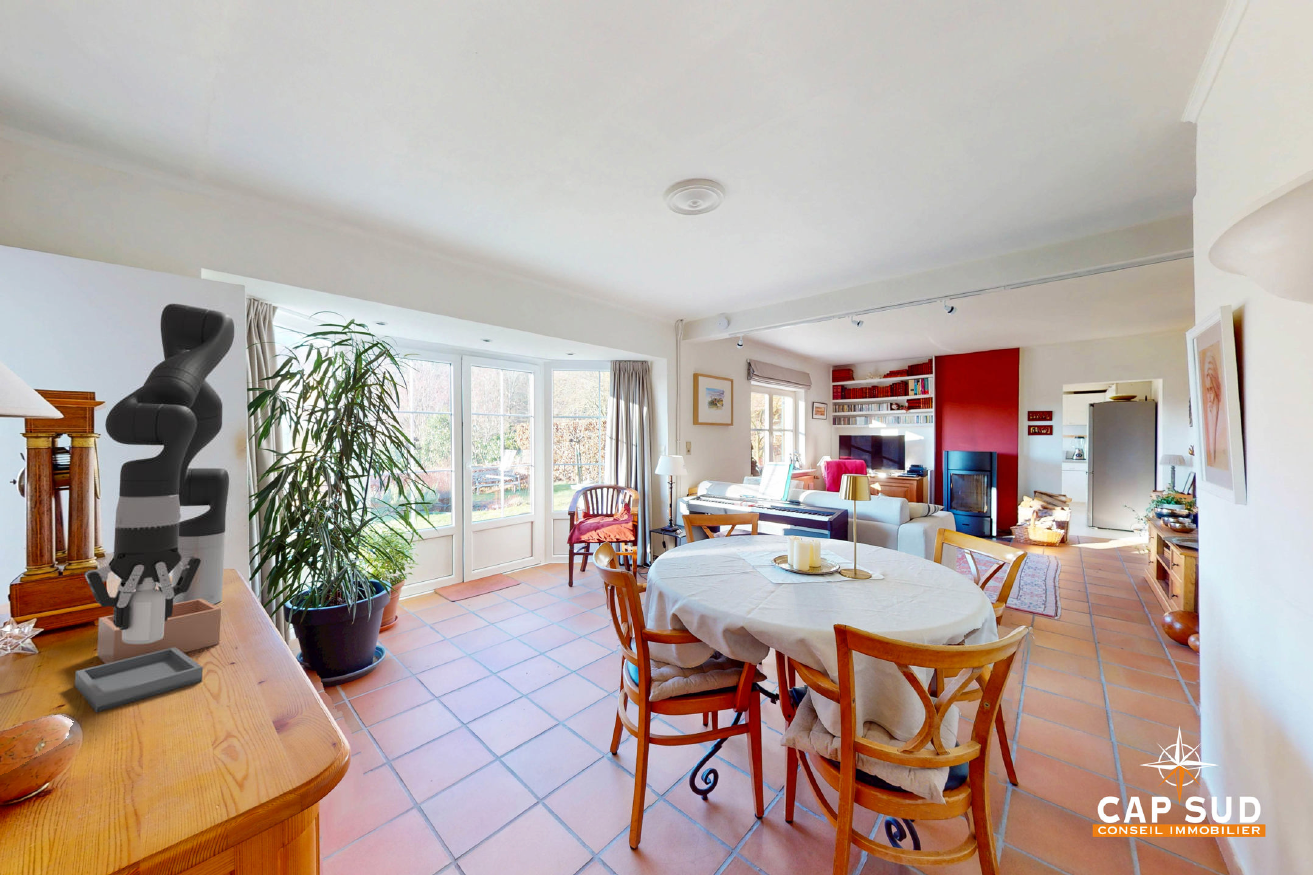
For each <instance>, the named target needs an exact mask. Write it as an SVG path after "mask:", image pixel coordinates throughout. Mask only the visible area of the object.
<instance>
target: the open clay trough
mask: <svg viewBox="0 0 1313 875" xmlns="http://www.w3.org/2000/svg"><path fill="white" fill-rule="evenodd" d="M221 614H222V608H220V607H218V606H217V605H216V604H211V603H209V602H207V601H205V600H204V599H196V600H191V601H186V602H180V603H175V604H173V613H172V615H171V617H168V619H167V621H164V636H163V638H162V639H161V640H158V641H155V642H152V643H148V644H128V643H125V642H123V641H122V630H120V629H119V627H118V628H117V627H116V626H115V625H114V624H113V616H114V614H112V615H108V616H107V615H106V616H102V617H98V628H97V629H98V632H97V648H96V649H97V651H96V652H97V653H96V656H97V657H98V658H99V659H100V660H101V661H102V662H103V664H107V663H111V662H115V661H120V660H124V659H128V658H132V657H136V656H140V655H144V654H148V653H152V652H157V651H161V650H165V649H169V648H173V647H176V648H177V649H178V650H180V651H181V652H183V653H184V654H185V653H188V652H191V651H195V650H196V651H197V650H200V649H204V648H208V647H212V646H216V645H219V644H220V637H221V635H220V634H221V617H222V616H221Z"/></svg>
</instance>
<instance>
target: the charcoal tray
mask: <svg viewBox="0 0 1313 875" xmlns="http://www.w3.org/2000/svg"><path fill="white" fill-rule="evenodd" d="M203 668H204V667H203V666H202V665H201V664H199V663H197V662H196V661H195V660H193V658H191V657H190V656H188V655H187V654H185V653H183V652H181V651H180V650H178V649H177V648H176V647H173V648H169V649H165V650H161V651H157V652H152V653H148V654H144V655H140V656H136V657H132V658H128V659H124V660H120V661H115V662H111V663H107V664H105V663H103V664H100V665H97V666H96V665H95V666H91V667H87V668H84V669H80V670H79V669H77V670H75V676H74V677H75V678H74V679H75V680H74V687H75V688H76V689H77V691H78V692H79V693H80V694H81V695H82V696H83V698H84V699H85V700H86V702H87V703H88V704H89V705H90V706H91V708H92V709H93V711H95V713H96V714H97V713H100V712H104V711H108V710H110V709H113V708H117V707H120V706H124V705H126V704H130V703H133V702H134V703H135V702H137V701H141V700H143V699H147V698H150V697H155V696H157V695H161V694H164V693H167V692H171V691H174V690H177V689H181V688H184V687H188V686H190V685H194V684H197V683H201V682H203Z"/></svg>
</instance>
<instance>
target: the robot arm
mask: <svg viewBox="0 0 1313 875" xmlns="http://www.w3.org/2000/svg"><path fill="white" fill-rule="evenodd" d="M160 316H161V317H160V335H161V344H162V350H163V351H162V352H163V358H164V360H163V361H161V362H160V363H158V364H156V366H155V367H154V368H153V369H152V370H151V372H150V373H149V375H148V377H147V378H146V380H145V382H144V383H143V385H142V386H140V387H139V388H137V389H135V390H134V391H133V392H132V393H130V394H128V395H127V396H124V398H122V399H121V400H119V401H118V402H117V403H115V405H114V406H113V407H112V408H111V409H110V410H109V413H108V414H107V415H106V419H105V423H104V424H105V429H106V433H107V434H108V436H109V437H110V438H111V439H112V440H113V441H114V442H117V443H119V444H122V445H130V446H163V448H162V450H161V451H160V453H158V454H157V455H156V456H154V457H147V458H141V459H133V460H132V459H131V460H129V461H125V463H123V464H122V465H121V468H120V473H119V497H118V500H117V505H116V509H115V510H116V511H115V522H114V523H115V524H114V525H115V526H114V540H113V542H114V544H113V555H112V559H111V560H110V561H109V562H108V565H104V566H102V567H99V568H97V569H89V570H86V571H85V572H84V574H83V575H84V578H85V580H86V582H87V584H88V586H89V589H90V590H91V592H92V595H93V597H94V600H95V601H96V602H97V604H99V605H100V606H101V607H104V608H105V607H112V608H113V615H114V616H113V624H114V625H115V626H116V627H117V628H118V627H119V629H120V630H126V629H128V623H129V606H127V604H128V601H129V599H130V597H131V594H132V593H133V592H134V591H136V590H135V588H136V585H140V584H142V582H143V581H144V580H145V578H150V577H152V580H154V582H156V587H157V590H159V591H161V592H162V593H164V595H165V620H164V621H167V619H168V617H171V615H172V613H173V604H175V603H180V602H186V601H191V600H196V599H204V600H205V601H207V602H209V603H211V604H213V605H216V604H217V603H220V602H222V600H223V584H224V583H223V582H224V566H225V565H224V564H225V563H224V561H225V542H226V541H225V540H226V517H227V516H226V515H227V506H228V504H227V503H228V497H229V496H228V495H229V487H230V485H229V484H230V477H229V473H228V470H226V469H225V468H218V467H217V468H214V467H213V468H212V467H211V468H207V467H204V468H201V467H199V468H197V467H195V468H192V467H191V468H190V467H189V466H190V464H191V463H192V461H193V459H194V458H196V456H197V455H198V453H200V451H202V450H203V449H204V448H205V447H206V446H207V445H208V444H210V443H211V442H212V441H213V440H214V439H215V438H216V437H217V436H218V434H219V433H220V432H221V430H222V428H223V401H222V399H221V398H220V395H219V394H218V392H217V391H216V390H215V389H214V388H213V386H211V384H210V383H209V382H208V381H207V380H206V379H207V378H208V376H209V375H210V374H211V373H212V372H213V371H214V369H215V368H216V367H217V366H218V365H219V364H220V363H221V362H222V360H223V359H224V358H225V357H226V355H227V354H228V353H229V351H230V349H231V347H232V345H233V343H234V338H235V323H234V320H233V318H232V316H230V315H229V314H227V313H225V312H222V311H219V310H214V309H213V310H212V309H207V308H202V307H197V306H192V305H186V304H180V303H169V304H167V305H165V306H164V308H163V310H162V312H161V315H160ZM202 506H203V507H205V506H206V507H207V506H209V508H208V510H207V511H206V512H204V513H202V514H200V515H198V516H195V517H193V518H188V519H184V520H183V521H180V520H181V516H182V515H181V507H202ZM111 572H112V573H113V574H114V575H115V576H117V577H118V578H119V579H120V581H119V584H118V586H117V591H116V593H115V596H110V594H109V592H108V590H107V588H106V586H105V583H104V582H106V581H107V580H108V578H109V576H108V575H109V574H110V573H111ZM171 572H172V578H170V575H169V574H171Z"/></svg>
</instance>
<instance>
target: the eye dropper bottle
mask: <svg viewBox="0 0 1313 875" xmlns="http://www.w3.org/2000/svg"><path fill="white" fill-rule="evenodd" d="M156 587H157V585H156V582H154V580H152V577H150V578H145V580H144V581H143V582H142V584H140V585H136V588H135V590H134V592H133V593H132V594H131V597H130V599H129V601H128V604H127V606H129V623H128V629H126V630H122V641H123V642H125V643H128V644H148V643H152V642H155V641H158V640H161V639H162V638H163V636H164V620H165V595H164V593H162V592H161V591H159V589H158V588H156Z"/></svg>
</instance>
